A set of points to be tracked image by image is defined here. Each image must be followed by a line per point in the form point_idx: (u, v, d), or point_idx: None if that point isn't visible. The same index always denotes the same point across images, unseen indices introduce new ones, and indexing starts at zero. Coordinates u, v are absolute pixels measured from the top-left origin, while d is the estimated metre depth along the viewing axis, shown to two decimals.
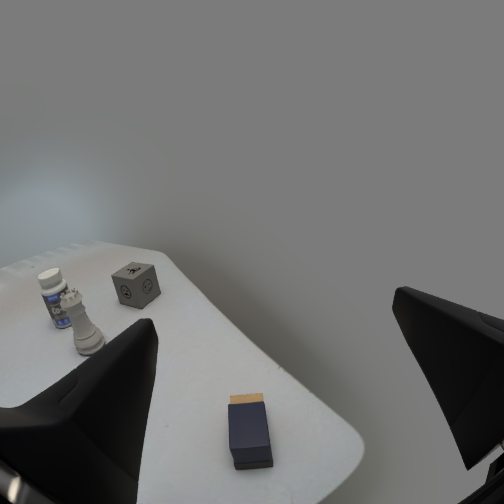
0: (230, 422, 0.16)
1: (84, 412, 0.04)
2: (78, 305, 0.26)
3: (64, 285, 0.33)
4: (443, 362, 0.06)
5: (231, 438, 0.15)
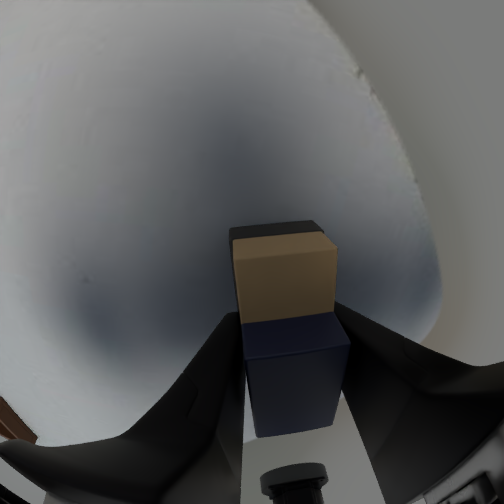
0: (255, 403, 0.06)
1: (221, 421, 0.04)
2: None
3: None
4: (359, 391, 0.06)
5: (259, 426, 0.07)
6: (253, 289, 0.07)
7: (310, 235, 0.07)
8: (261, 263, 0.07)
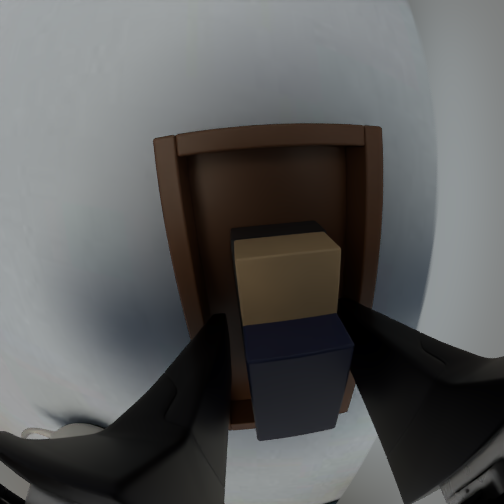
0: (257, 406, 0.06)
1: (198, 421, 0.04)
2: None
3: None
4: (376, 386, 0.06)
5: (261, 429, 0.07)
6: (255, 291, 0.07)
7: (313, 235, 0.07)
8: (263, 264, 0.06)
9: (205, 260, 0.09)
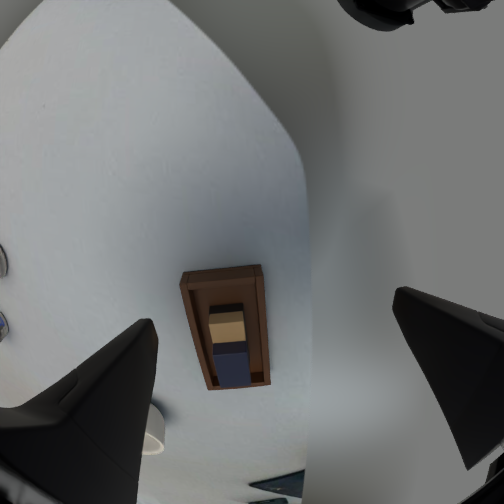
0: (217, 371, 0.20)
1: (84, 412, 0.04)
2: None
3: None
4: (443, 362, 0.06)
5: (220, 381, 0.20)
6: (215, 333, 0.20)
7: (237, 313, 0.21)
8: (217, 325, 0.20)
9: (200, 316, 0.22)
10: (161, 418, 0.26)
